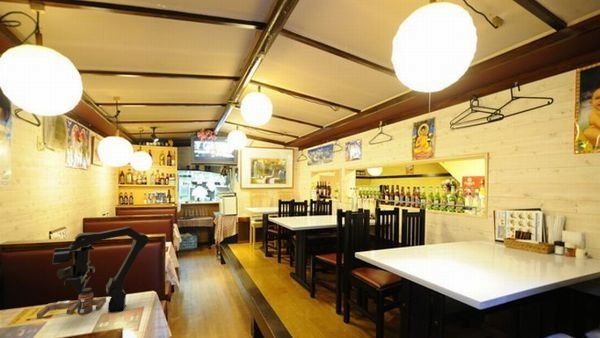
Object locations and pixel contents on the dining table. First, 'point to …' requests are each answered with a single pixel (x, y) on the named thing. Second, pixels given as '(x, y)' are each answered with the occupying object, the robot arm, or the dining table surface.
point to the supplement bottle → (85, 301)
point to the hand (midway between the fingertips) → (79, 293)
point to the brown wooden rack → (69, 306)
